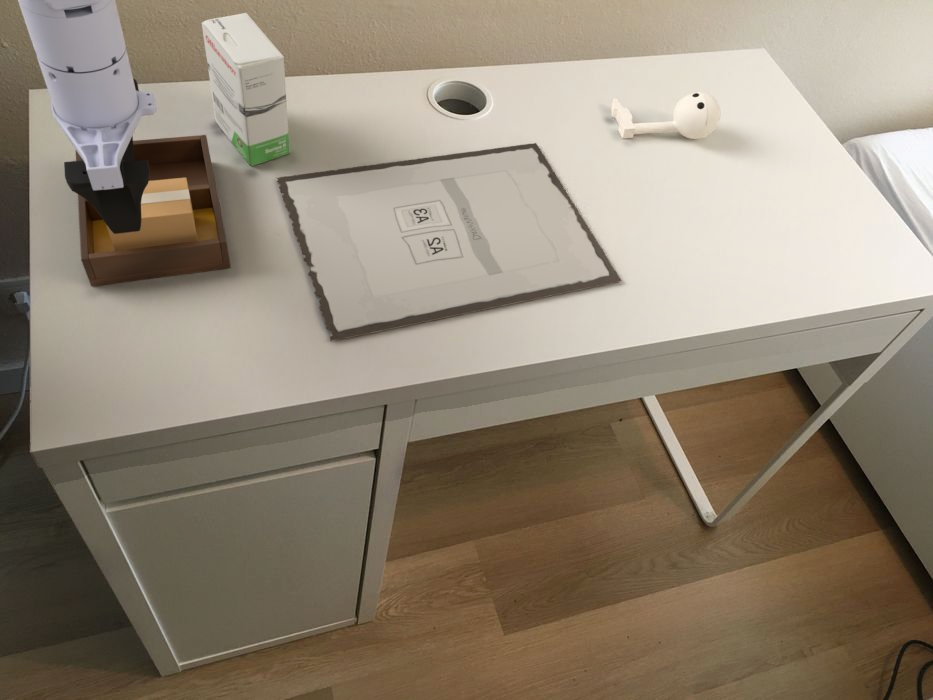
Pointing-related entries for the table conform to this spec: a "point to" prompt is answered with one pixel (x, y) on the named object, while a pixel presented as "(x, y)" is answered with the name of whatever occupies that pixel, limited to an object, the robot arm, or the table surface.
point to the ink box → (247, 87)
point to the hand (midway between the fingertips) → (123, 196)
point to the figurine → (675, 118)
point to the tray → (165, 260)
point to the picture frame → (439, 237)
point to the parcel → (161, 217)
